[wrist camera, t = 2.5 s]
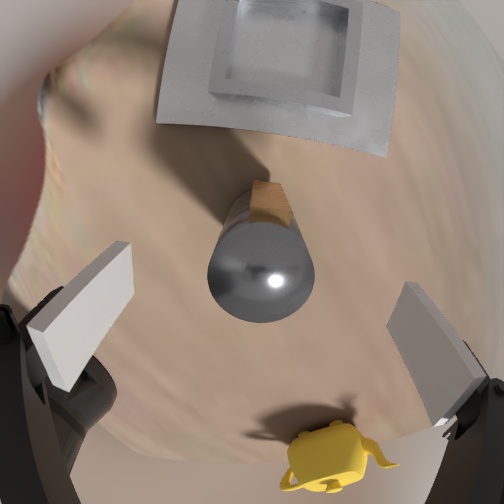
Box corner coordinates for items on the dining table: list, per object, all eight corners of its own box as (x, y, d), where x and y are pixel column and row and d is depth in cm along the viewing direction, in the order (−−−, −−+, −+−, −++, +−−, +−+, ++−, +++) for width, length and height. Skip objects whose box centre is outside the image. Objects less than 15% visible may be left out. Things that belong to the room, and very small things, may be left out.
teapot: (375, 396, 32) (395, 459, 22) (388, 424, 36) (404, 475, 26) (263, 436, 36) (262, 495, 26) (292, 457, 40) (295, 506, 30)
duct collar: (160, 123, 20) (143, 122, 16) (188, -19, 14) (178, -38, 11) (381, 157, 20) (400, 161, 17) (395, 15, 15) (413, 3, 11)
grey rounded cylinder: (225, 244, 24) (204, 315, 14) (233, 175, 21) (213, 206, 12) (286, 253, 24) (301, 327, 15) (299, 185, 21) (329, 223, 12)
